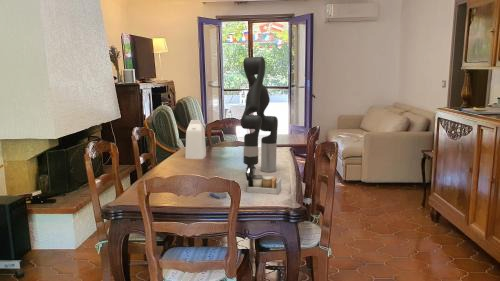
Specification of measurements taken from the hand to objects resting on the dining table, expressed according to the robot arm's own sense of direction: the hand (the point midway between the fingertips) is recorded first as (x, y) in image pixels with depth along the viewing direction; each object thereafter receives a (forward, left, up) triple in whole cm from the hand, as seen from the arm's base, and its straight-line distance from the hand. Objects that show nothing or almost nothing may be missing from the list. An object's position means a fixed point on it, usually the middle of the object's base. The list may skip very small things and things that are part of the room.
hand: (250, 187), depth 204 cm
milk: (-65, -54, -1) cm, 84 cm away
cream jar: (0, +4, -1) cm, 4 cm away
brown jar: (0, +9, -1) cm, 9 cm away
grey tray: (0, +7, -1) cm, 7 cm away
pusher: (0, +12, -1) cm, 12 cm away
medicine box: (+15, -13, -1) cm, 20 cm away
